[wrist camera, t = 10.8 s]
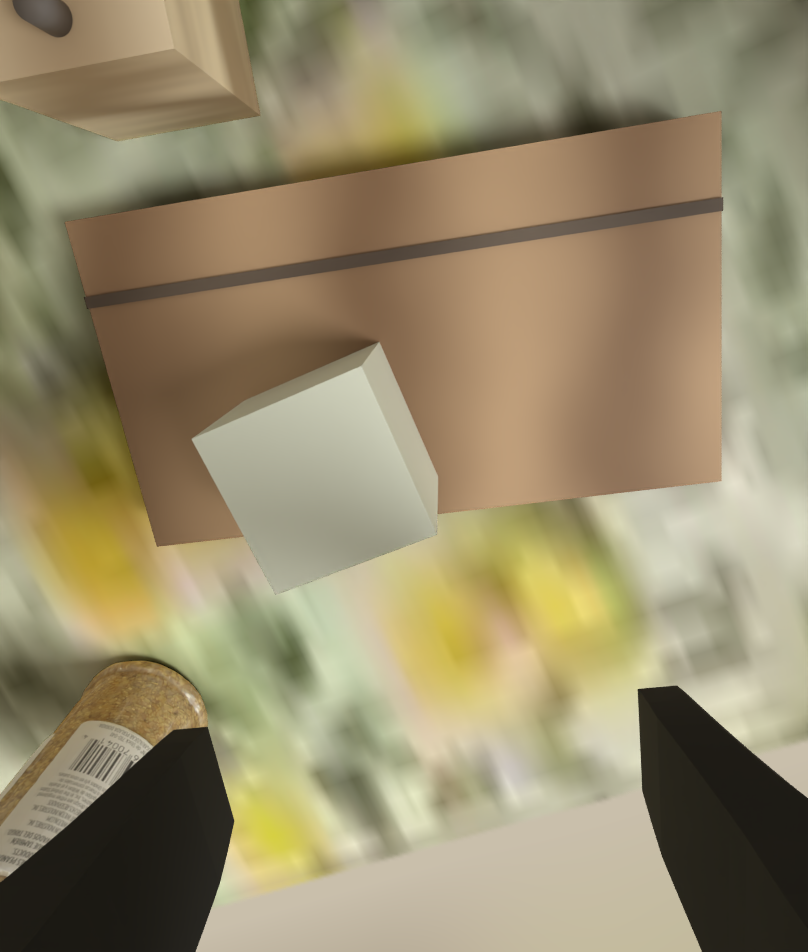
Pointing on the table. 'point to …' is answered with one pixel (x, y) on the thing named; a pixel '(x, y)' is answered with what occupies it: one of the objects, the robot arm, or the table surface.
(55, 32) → the block
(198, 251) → the plank
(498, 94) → the table surface
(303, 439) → the offcut block
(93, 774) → the sprinkles bottle
